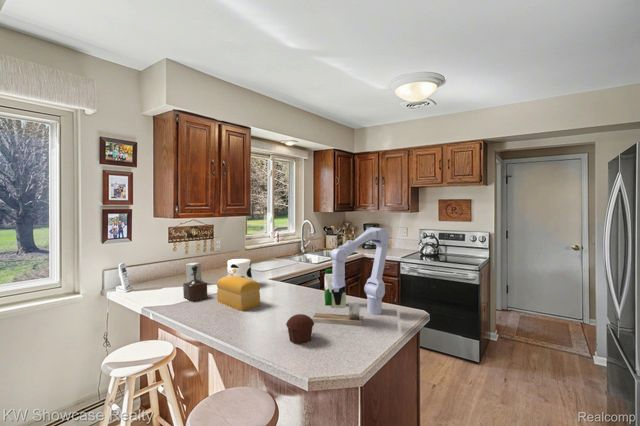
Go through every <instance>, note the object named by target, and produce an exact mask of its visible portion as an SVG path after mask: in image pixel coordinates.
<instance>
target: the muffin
mask: <svg viewBox="0 0 640 426" xmlns="http://www.w3.org/2000/svg"><path fill="white" fill-rule="evenodd" d="M310 317H311V316H309V315H306V314H302V313H301V314H299V313H298V314H294V315H292V316H290V317H289V318H288V320H287V321H286V323H285V326H286V327H287V331H288V336H289V337H288V338H289V342H291V343H293V344H296V345H302V344H303V345H304V344H307V343H309V342H311V340H312V334H313V333H312V332H313V327H314V325H315V322H313V320H312V319H311V318H310Z"/></svg>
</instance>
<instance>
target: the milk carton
mask: <svg viewBox="0 0 640 426" xmlns="http://www.w3.org/2000/svg"><path fill="white" fill-rule="evenodd" d="M324 272H325V273H324V304H325V306H331V307H332V292H331V290H332V289H334V287H333V286H332V285H330V283H333V268H325V271H324Z"/></svg>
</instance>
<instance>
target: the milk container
mask: <svg viewBox="0 0 640 426" xmlns="http://www.w3.org/2000/svg"><path fill="white" fill-rule="evenodd" d="M251 261H252V260H251V259H249V258H234V259H229V260H227V270H226V271H227V275H226V276H229V275H235V276H239V277H243V278H247V279H251V280H254V279H253V275H252V262H251Z"/></svg>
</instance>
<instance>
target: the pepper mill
mask: <svg viewBox="0 0 640 426" xmlns="http://www.w3.org/2000/svg"><path fill="white" fill-rule="evenodd" d="M191 269H192V270H193V274H191V276H193V275H194V280H192V281H190V282H188V283H187V282H185V283H183V284H182V285H183V287H182V288H183V289H182V290H183V299H184V298H185V299H187V300H189V301H188V302H190V301H193V302H197V301H196V300H198V301H201V300H200V299H202V300H205V299H204V298H206V299H208V298H207V297H208V283H207V282H205V281H204V280H201V279H200V280H198V279H196V273H197V269H198V267H197V266H193V267H192V268H191ZM185 299H184V300H185ZM187 300H186V301H187Z"/></svg>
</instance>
